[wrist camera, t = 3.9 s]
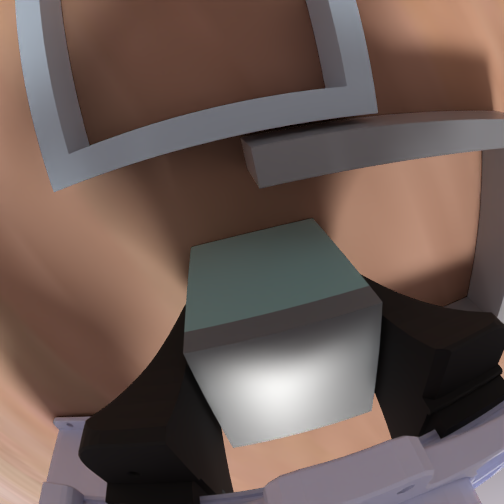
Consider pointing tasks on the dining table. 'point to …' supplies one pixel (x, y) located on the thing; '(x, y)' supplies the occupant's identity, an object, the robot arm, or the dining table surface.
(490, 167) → the bay
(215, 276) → the grey block
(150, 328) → the dining table surface
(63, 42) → the blue-grey square frame
